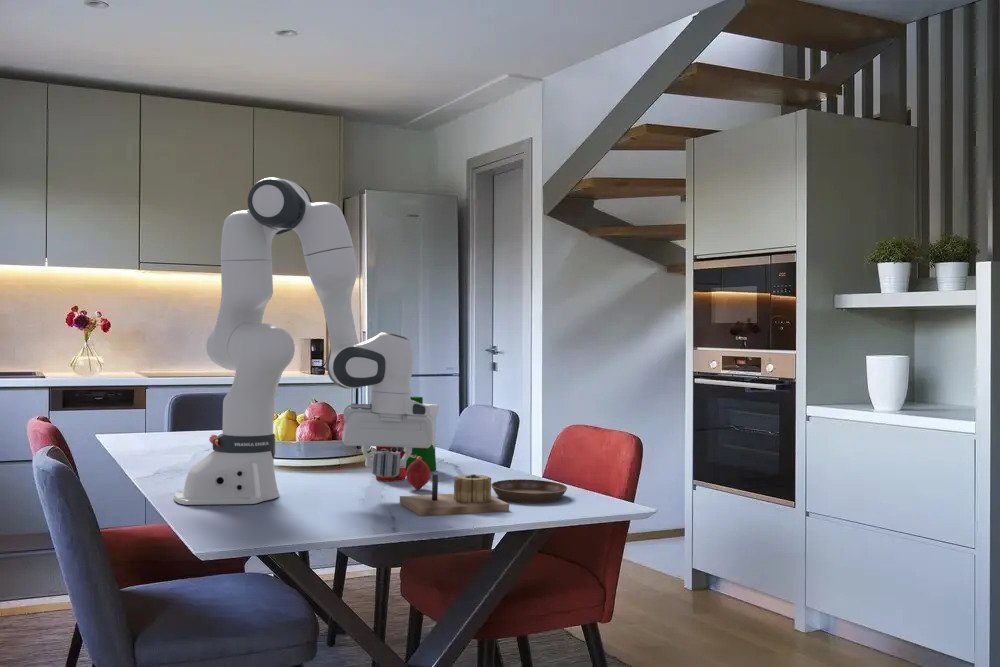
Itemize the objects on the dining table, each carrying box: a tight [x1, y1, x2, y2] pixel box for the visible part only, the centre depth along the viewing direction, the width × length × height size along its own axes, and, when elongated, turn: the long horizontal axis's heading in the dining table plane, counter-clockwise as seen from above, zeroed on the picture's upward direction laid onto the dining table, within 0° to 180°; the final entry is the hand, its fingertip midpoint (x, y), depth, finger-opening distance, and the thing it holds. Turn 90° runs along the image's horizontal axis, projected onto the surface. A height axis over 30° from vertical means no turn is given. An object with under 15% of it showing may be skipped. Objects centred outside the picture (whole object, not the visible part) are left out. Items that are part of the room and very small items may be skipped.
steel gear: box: [371, 451, 401, 477], centre depth 216 cm, size 6×6×5 cm
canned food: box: [375, 446, 407, 482], centre depth 246 cm, size 8×8×11 cm
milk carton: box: [406, 396, 440, 472], centre depth 261 cm, size 9×9×20 cm
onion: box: [406, 456, 432, 491], centre depth 231 cm, size 6×6×8 cm
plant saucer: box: [491, 478, 568, 504], centre depth 224 cm, size 18×18×3 cm
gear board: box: [399, 473, 510, 517], centre depth 210 cm, size 20×15×7 cm
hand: (385, 466), depth 217 cm, fingers closed on steel gear, 6 cm apart
